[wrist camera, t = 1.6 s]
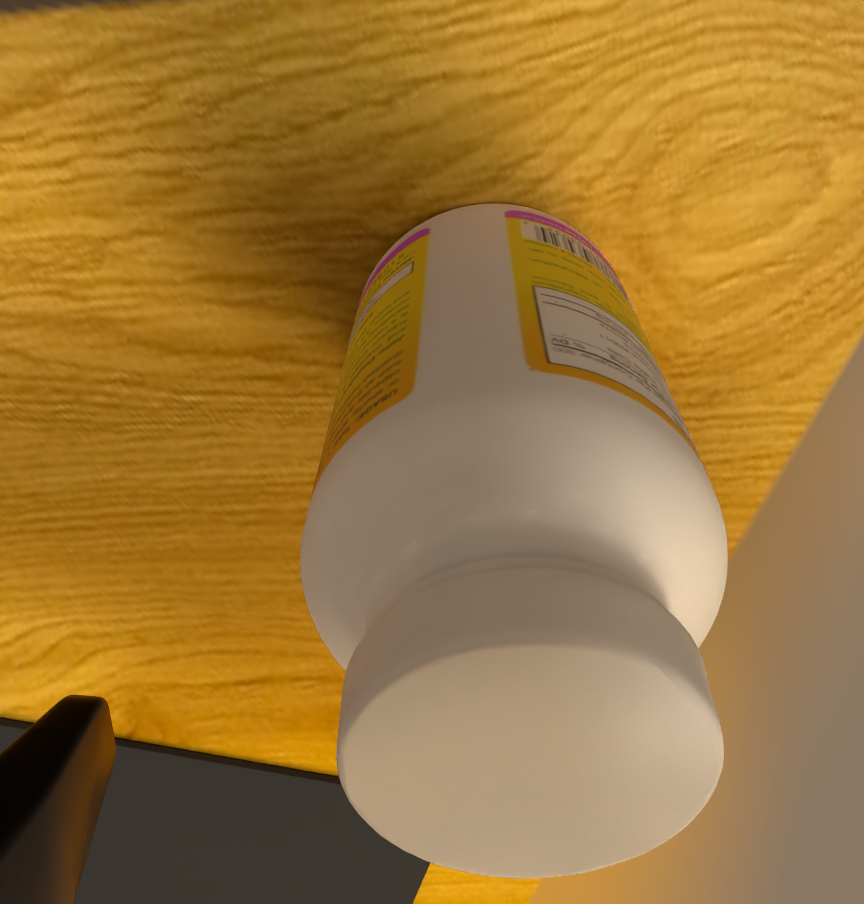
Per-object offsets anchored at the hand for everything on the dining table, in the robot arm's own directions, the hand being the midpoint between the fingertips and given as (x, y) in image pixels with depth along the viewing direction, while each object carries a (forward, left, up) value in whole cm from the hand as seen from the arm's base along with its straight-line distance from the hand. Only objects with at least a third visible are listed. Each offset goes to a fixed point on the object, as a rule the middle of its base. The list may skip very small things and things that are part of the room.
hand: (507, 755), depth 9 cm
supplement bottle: (0, +1, -13) cm, 13 cm away
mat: (+5, +29, -13) cm, 32 cm away
